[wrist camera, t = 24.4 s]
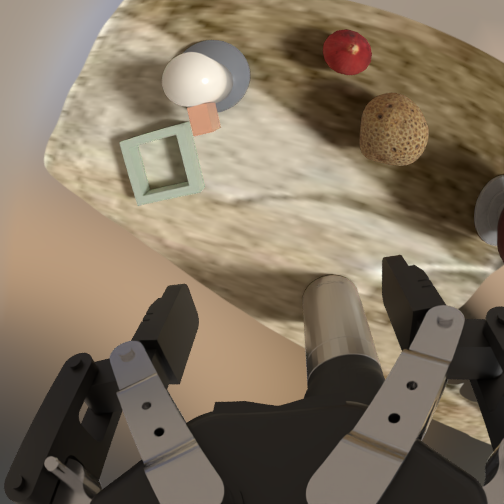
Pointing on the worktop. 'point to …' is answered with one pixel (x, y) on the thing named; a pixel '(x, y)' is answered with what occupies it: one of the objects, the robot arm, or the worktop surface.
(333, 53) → the onion
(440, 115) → the worktop surface
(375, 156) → the natural sponge
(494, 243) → the mate gourd
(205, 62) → the jug
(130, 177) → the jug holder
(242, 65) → the coaster
